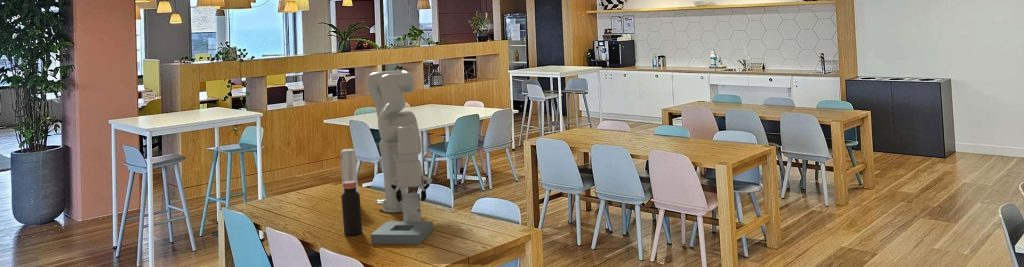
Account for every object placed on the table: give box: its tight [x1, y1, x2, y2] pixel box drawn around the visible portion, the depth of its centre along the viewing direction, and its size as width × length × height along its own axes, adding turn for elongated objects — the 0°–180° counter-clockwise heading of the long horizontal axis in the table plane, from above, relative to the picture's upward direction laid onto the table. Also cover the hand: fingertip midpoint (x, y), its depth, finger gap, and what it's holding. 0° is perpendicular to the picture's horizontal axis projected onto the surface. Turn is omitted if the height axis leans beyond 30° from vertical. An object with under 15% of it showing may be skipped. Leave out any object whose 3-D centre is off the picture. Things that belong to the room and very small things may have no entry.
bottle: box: [340, 181, 363, 237], centre depth 291 cm, size 7×7×20 cm
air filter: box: [339, 148, 359, 194], centre depth 336 cm, size 6×6×25 cm
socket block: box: [370, 220, 434, 245], centre depth 284 cm, size 18×18×4 cm
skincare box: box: [402, 192, 422, 221], centre depth 302 cm, size 6×4×12 cm
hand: (411, 200), depth 300 cm, fingers open, 9 cm apart
